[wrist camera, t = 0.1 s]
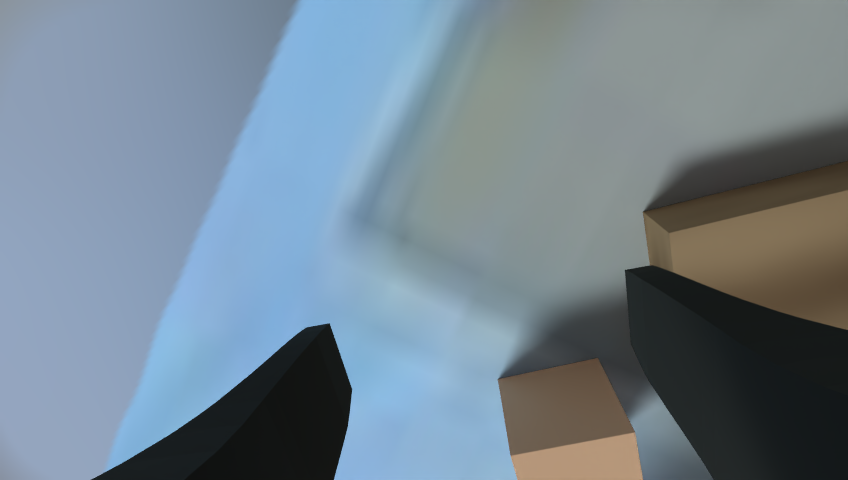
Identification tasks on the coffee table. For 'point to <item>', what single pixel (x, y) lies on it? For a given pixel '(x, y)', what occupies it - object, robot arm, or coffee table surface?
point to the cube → (568, 425)
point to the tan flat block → (764, 243)
